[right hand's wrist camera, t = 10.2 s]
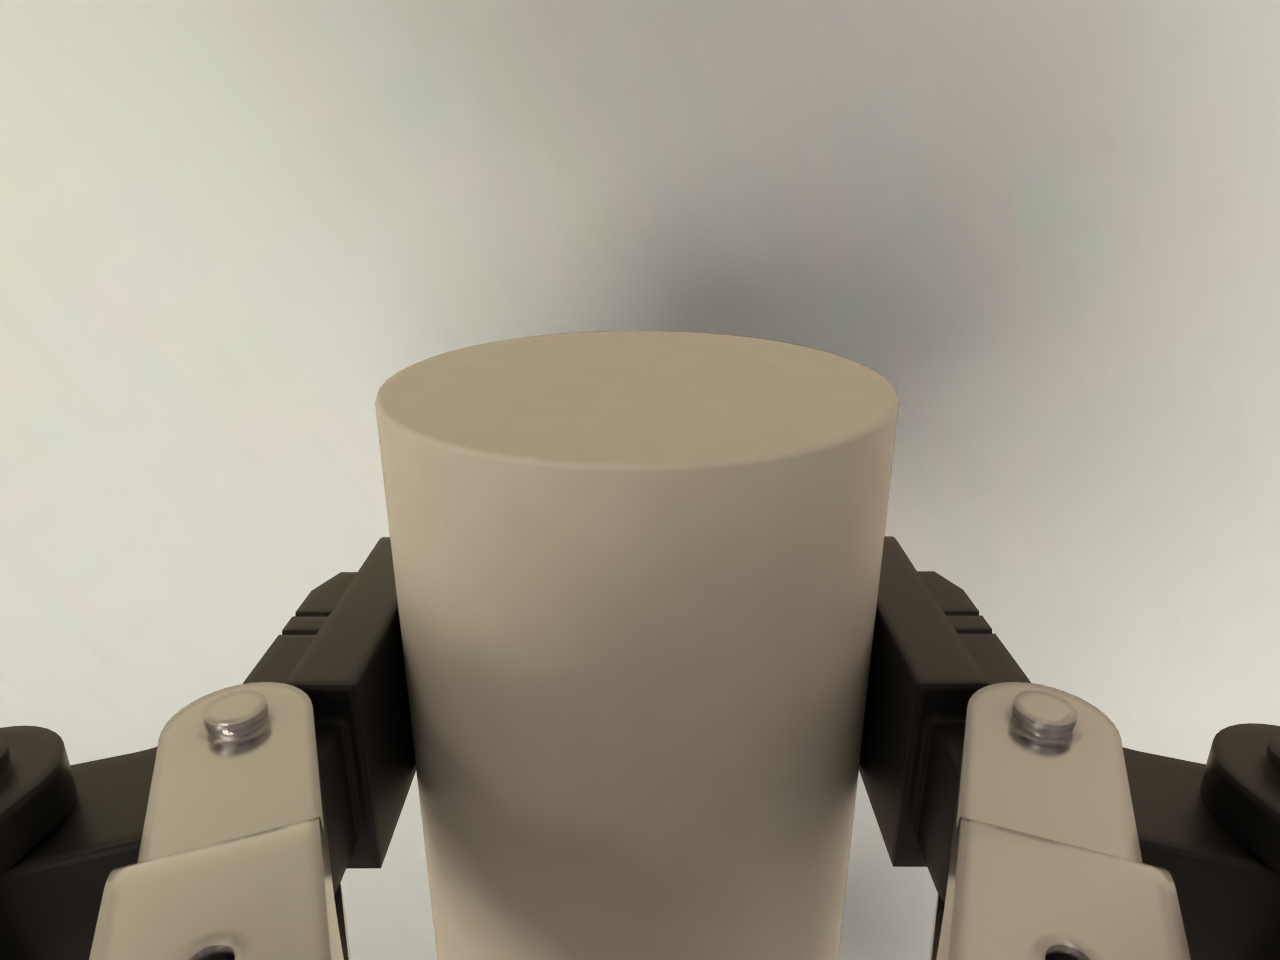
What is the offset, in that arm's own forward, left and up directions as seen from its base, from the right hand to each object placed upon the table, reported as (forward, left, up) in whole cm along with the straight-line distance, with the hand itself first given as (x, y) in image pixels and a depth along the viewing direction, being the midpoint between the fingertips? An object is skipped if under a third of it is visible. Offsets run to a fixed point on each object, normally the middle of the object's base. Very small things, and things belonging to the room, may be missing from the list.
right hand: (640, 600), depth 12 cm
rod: (+6, +6, -1) cm, 8 cm away
